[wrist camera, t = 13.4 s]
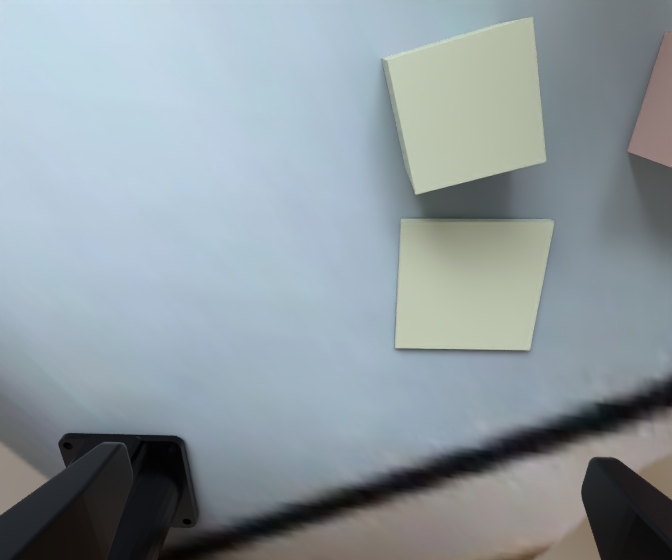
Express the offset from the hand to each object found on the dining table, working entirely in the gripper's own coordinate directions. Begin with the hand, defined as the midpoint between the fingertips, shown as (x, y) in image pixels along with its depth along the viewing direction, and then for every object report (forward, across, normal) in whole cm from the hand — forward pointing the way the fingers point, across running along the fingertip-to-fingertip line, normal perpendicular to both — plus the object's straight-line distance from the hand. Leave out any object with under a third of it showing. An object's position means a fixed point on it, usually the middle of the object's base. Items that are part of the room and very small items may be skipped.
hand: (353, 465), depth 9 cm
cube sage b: (+12, -3, -6) cm, 14 cm away
